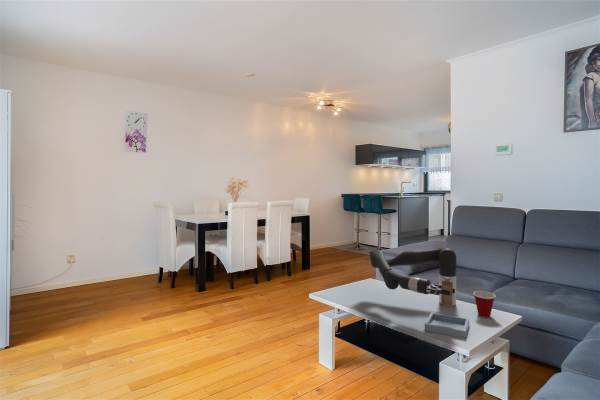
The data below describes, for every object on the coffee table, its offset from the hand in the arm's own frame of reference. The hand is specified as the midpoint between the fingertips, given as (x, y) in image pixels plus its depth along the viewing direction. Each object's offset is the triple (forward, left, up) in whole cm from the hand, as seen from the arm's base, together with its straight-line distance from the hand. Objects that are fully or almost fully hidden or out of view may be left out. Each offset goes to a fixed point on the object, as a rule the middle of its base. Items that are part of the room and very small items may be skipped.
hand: (452, 292), depth 164 cm
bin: (-1, -2, -18) cm, 18 cm away
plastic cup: (-29, +13, -18) cm, 36 cm away
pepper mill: (-1, -3, -7) cm, 8 cm away
